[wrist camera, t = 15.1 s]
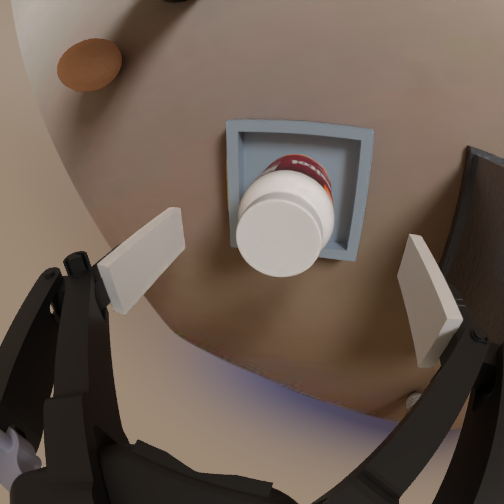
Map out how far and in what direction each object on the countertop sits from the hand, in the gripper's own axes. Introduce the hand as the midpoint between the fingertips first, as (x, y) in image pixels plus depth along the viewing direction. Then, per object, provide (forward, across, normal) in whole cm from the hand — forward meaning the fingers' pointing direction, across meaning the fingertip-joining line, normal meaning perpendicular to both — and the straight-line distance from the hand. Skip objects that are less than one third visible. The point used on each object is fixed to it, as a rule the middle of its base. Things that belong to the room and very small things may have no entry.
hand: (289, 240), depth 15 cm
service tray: (+11, -1, 0) cm, 11 cm away
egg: (+11, -21, +14) cm, 27 cm away
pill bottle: (+11, -1, 0) cm, 11 cm away
